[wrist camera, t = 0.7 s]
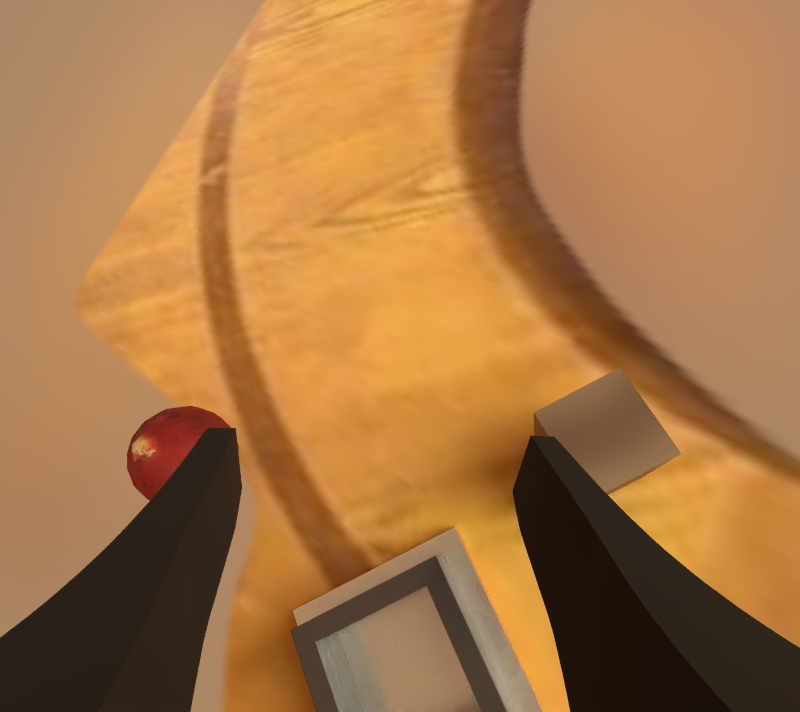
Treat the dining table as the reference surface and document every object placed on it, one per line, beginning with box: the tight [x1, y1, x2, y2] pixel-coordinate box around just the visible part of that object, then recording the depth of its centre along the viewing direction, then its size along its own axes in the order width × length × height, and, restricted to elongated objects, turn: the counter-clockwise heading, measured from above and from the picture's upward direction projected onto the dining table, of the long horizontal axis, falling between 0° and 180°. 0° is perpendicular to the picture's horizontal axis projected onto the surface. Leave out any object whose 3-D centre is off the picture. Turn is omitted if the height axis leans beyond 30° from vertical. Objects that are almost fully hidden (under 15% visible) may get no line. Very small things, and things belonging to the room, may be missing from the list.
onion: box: [127, 406, 238, 500], centre depth 30 cm, size 6×6×8 cm
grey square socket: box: [291, 527, 546, 712], centre depth 25 cm, size 10×10×4 cm
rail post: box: [534, 368, 681, 495], centre depth 24 cm, size 4×4×8 cm
